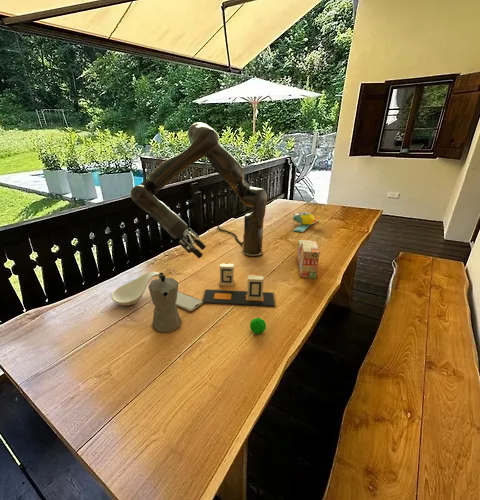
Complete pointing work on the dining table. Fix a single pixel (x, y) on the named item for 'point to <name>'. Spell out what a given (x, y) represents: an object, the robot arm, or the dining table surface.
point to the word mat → (237, 298)
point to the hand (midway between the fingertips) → (202, 252)
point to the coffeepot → (164, 303)
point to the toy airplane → (304, 221)
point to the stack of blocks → (308, 258)
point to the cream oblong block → (227, 274)
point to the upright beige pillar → (255, 287)
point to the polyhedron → (258, 325)
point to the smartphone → (187, 301)
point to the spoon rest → (132, 290)
